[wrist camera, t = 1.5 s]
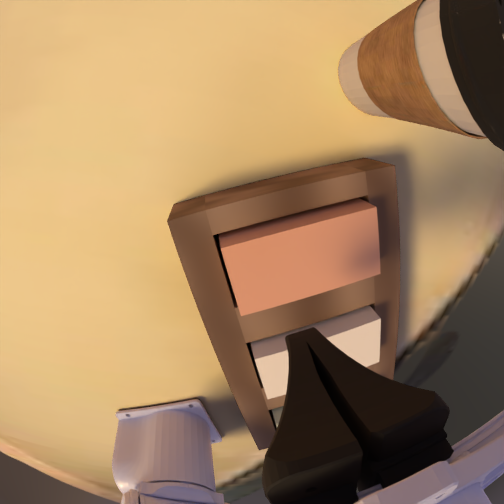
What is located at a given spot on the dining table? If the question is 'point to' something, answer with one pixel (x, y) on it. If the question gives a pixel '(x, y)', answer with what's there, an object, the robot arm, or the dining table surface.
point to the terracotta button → (301, 254)
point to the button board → (297, 312)
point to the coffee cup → (433, 67)
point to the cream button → (335, 330)
